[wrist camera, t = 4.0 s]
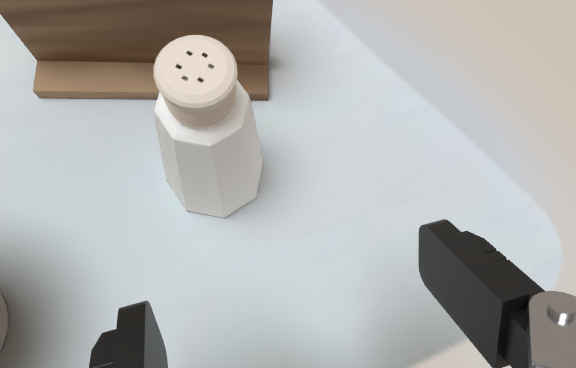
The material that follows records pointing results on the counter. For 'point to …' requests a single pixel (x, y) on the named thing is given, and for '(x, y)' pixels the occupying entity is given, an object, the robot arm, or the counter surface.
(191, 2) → the screen
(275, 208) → the counter surface
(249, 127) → the pepper shaker
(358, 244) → the counter surface
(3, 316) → the coffee cup
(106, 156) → the counter surface
